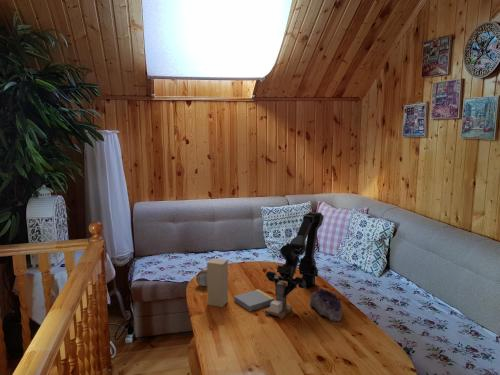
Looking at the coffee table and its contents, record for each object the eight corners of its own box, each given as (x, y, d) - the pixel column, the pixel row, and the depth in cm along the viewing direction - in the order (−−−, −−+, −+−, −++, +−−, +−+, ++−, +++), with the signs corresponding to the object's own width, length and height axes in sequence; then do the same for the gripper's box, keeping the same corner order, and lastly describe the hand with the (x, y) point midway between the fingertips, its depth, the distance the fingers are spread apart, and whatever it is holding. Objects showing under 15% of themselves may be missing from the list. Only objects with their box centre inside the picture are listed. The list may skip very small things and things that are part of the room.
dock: (258, 294, 204) (258, 289, 203) (273, 303, 193) (273, 298, 193) (234, 301, 196) (234, 296, 196) (249, 311, 186) (249, 306, 185)
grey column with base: (274, 305, 191) (275, 279, 189) (292, 310, 186) (292, 283, 184) (264, 314, 183) (264, 287, 180) (282, 319, 178) (283, 291, 176)
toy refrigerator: (228, 300, 196) (228, 259, 193) (222, 307, 190) (222, 264, 186) (213, 298, 199) (212, 257, 196) (207, 304, 192) (206, 262, 189)
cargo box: (274, 307, 185) (274, 299, 184) (282, 309, 183) (282, 301, 182) (270, 311, 181) (270, 302, 181) (278, 313, 179) (278, 305, 179)
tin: (225, 285, 215) (225, 270, 213) (224, 288, 212) (224, 272, 210) (197, 284, 216) (196, 269, 215) (195, 286, 213) (195, 271, 212)
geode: (352, 320, 178) (351, 299, 175) (329, 327, 174) (327, 307, 172) (328, 299, 196) (327, 280, 194) (307, 306, 193) (305, 286, 191)
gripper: (267, 254, 191) (255, 285, 183) (304, 261, 181) (293, 293, 174) (275, 265, 199) (264, 295, 191) (310, 272, 189) (300, 304, 182)
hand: (279, 296), depth 184 cm, fingers closed on grey column with base, 3 cm apart
